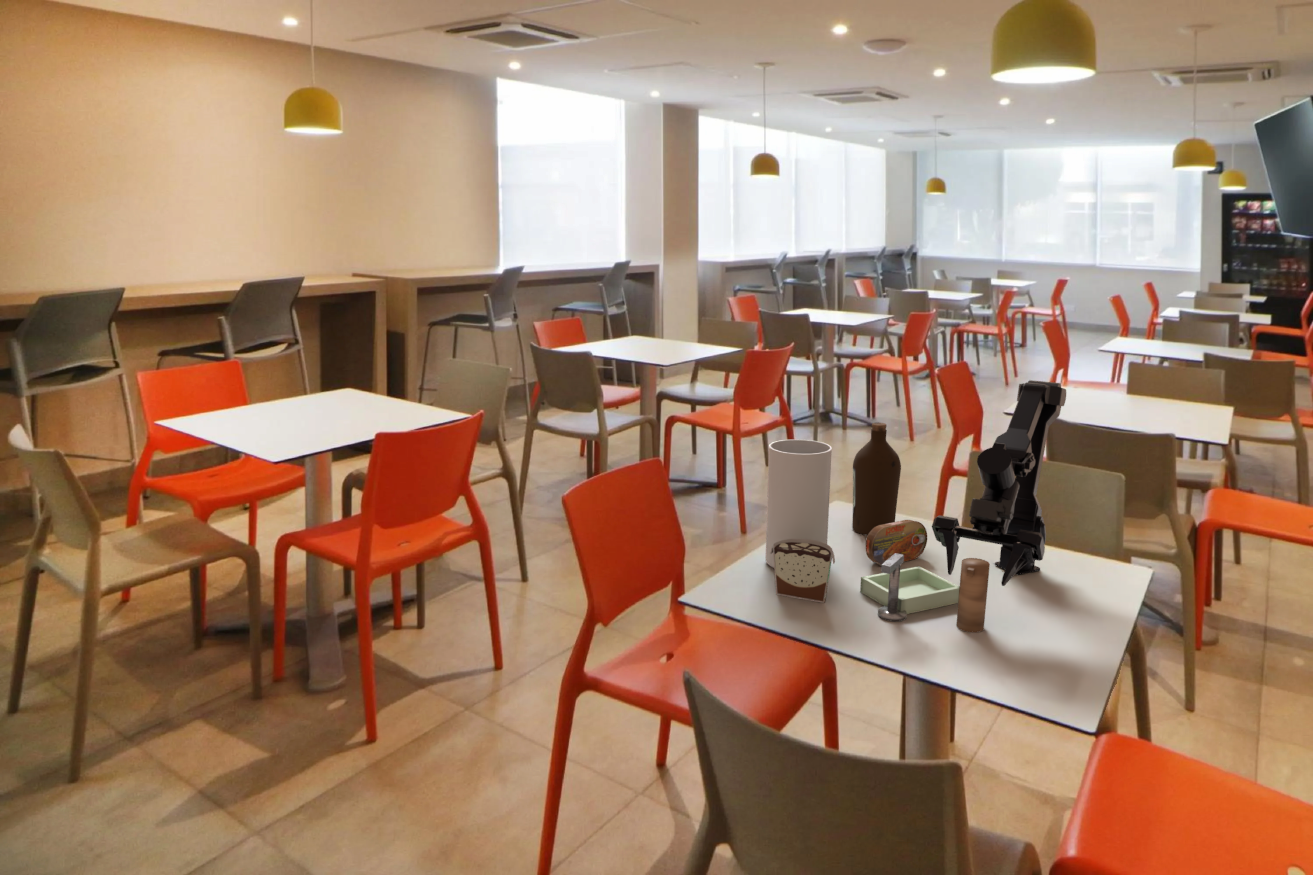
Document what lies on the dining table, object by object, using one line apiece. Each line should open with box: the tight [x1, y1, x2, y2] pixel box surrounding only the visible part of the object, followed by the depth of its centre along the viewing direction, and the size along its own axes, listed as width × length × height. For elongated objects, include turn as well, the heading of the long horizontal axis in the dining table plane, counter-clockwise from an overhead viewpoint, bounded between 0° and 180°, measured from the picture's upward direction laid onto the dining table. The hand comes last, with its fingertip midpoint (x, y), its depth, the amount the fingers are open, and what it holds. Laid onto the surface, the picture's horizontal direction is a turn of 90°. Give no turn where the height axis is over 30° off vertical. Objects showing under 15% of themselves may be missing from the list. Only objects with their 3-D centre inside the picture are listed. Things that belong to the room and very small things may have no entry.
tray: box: [859, 566, 960, 615], centre depth 179 cm, size 14×12×3 cm
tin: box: [865, 519, 928, 566], centre depth 198 cm, size 15×3×8 cm, turn 117°
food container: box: [770, 539, 836, 604], centre depth 180 cm, size 12×6×10 cm, turn 65°
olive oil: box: [851, 422, 902, 536], centre depth 215 cm, size 11×11×25 cm
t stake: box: [877, 553, 908, 622], centre depth 169 cm, size 8×5×11 cm, turn 146°
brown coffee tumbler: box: [956, 557, 991, 634], centre depth 165 cm, size 6×5×12 cm
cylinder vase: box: [765, 438, 833, 569], centre depth 194 cm, size 12×12×25 cm
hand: (975, 579), depth 165 cm, fingers open, 9 cm apart
